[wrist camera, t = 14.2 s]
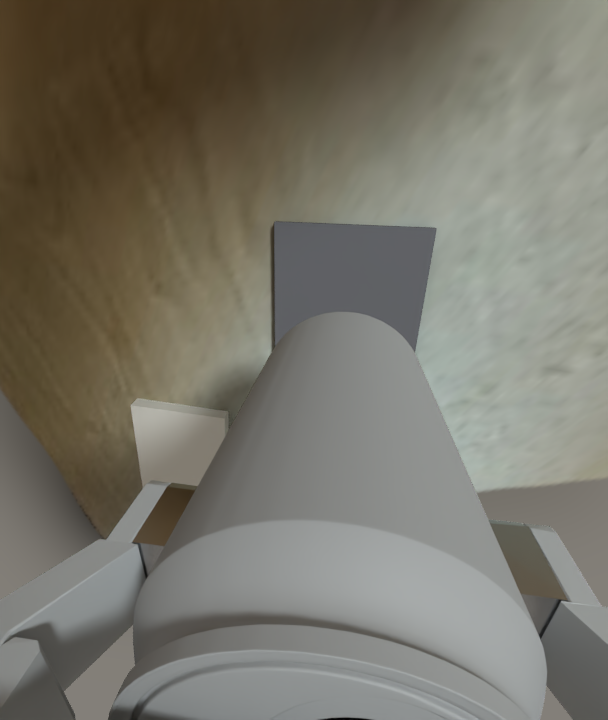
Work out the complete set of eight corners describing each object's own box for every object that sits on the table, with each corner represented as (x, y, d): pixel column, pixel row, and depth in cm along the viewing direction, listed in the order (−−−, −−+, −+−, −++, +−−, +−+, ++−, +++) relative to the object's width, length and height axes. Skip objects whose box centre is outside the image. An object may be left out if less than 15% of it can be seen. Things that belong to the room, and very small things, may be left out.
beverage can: (445, 402, 15) (693, 902, 4) (319, 461, 17) (266, 906, 6) (369, 274, 14) (449, 554, 3) (239, 356, 16) (-27, 710, 5)
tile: (130, 405, 30) (143, 493, 34) (224, 418, 29) (225, 507, 33) (140, 395, 31) (152, 481, 35) (230, 407, 31) (230, 494, 35)
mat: (276, 221, 23) (274, 222, 23) (434, 227, 22) (436, 228, 22) (276, 360, 27) (275, 364, 27) (409, 371, 26) (410, 374, 26)
